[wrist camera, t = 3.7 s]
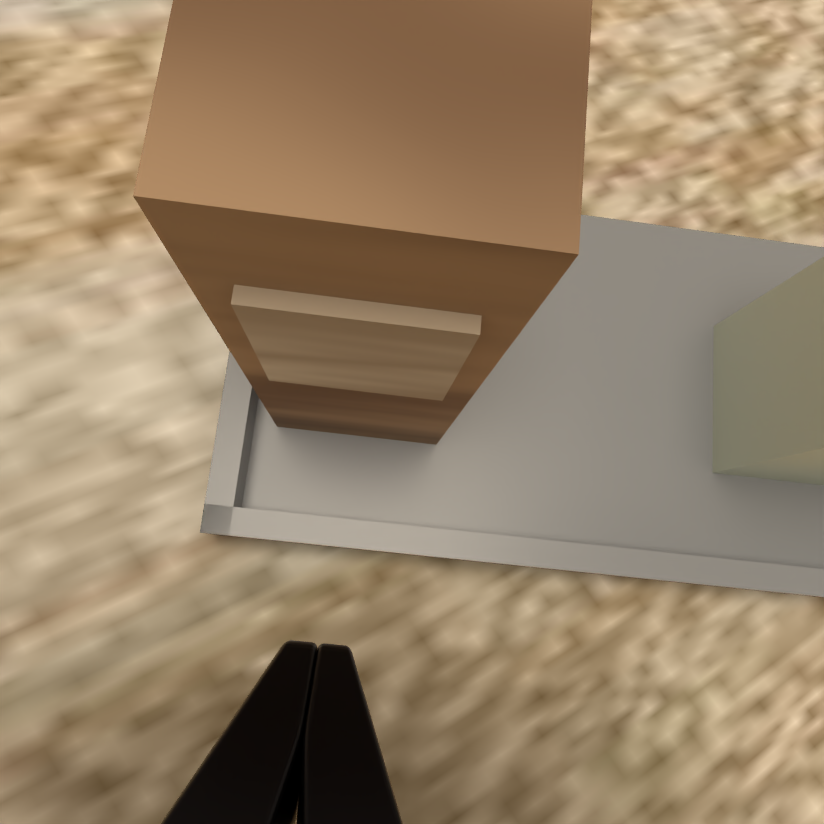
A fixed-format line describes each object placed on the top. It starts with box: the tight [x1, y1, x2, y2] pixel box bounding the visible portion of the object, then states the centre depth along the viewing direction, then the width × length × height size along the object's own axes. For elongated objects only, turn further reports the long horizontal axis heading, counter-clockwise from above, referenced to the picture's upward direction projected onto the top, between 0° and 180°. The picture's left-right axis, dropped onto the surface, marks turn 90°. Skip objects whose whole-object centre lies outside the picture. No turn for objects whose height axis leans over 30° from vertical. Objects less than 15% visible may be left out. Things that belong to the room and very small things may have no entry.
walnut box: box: [133, 0, 592, 445], centre depth 15 cm, size 5×5×14 cm
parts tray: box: [200, 215, 824, 597], centre depth 22 cm, size 12×22×2 cm, turn 85°
